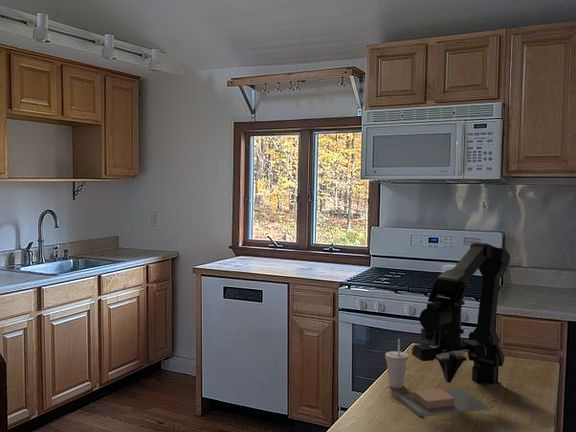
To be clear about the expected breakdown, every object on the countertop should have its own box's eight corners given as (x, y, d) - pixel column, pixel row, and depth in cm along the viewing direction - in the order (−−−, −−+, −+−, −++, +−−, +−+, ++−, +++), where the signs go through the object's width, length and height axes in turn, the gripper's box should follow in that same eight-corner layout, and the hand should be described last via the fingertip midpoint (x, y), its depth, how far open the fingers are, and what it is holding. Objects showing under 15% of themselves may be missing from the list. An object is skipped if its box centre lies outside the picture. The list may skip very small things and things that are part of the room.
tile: (440, 388, 155) (413, 391, 152) (455, 398, 148) (427, 401, 146) (440, 396, 155) (413, 399, 153) (454, 406, 148) (426, 409, 146)
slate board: (459, 391, 160) (459, 385, 160) (490, 411, 147) (490, 404, 147) (394, 398, 155) (394, 392, 155) (419, 419, 142) (419, 412, 141)
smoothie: (407, 393, 159) (408, 343, 158) (384, 391, 160) (384, 341, 159) (407, 384, 165) (408, 336, 164) (384, 383, 167) (385, 335, 166)
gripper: (463, 314, 160) (462, 369, 161) (402, 318, 155) (401, 375, 156) (487, 324, 150) (486, 382, 151) (423, 329, 145) (421, 389, 146)
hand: (448, 382), depth 151 cm, fingers closed
